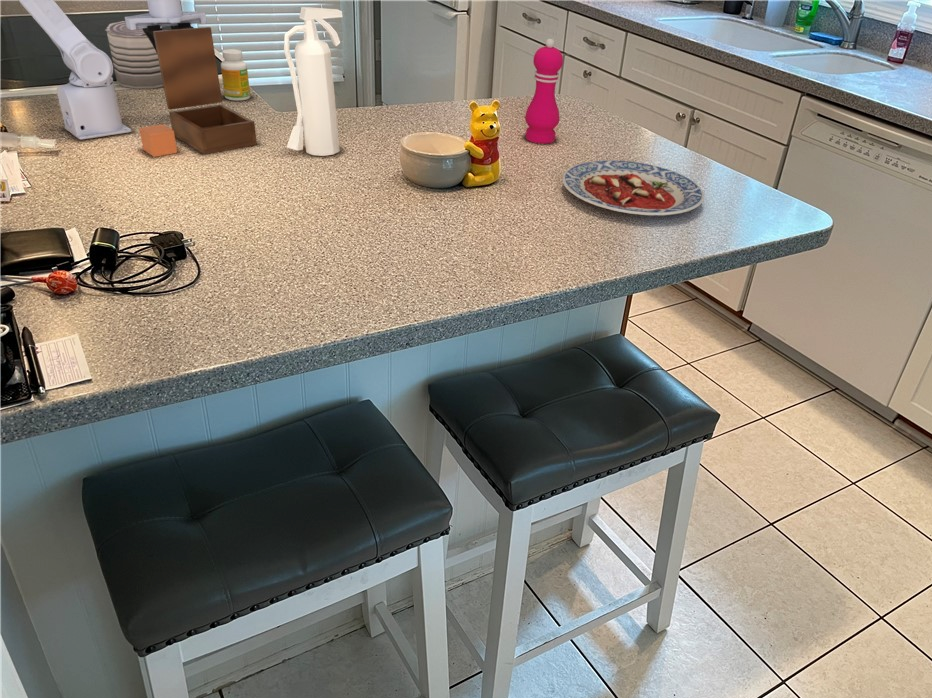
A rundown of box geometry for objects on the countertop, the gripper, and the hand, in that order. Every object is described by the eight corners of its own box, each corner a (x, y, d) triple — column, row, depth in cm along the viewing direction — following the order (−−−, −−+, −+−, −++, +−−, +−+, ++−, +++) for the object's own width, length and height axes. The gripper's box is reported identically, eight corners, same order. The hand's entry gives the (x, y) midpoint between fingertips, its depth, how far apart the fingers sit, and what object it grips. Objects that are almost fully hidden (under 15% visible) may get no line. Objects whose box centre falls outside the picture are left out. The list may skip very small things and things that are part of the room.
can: (182, 83, 176) (173, 26, 169) (138, 92, 168) (127, 33, 161) (149, 72, 181) (139, 17, 174) (105, 81, 173) (93, 23, 166)
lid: (211, 27, 144) (209, 26, 145) (154, 31, 138) (152, 31, 138) (222, 102, 151) (220, 101, 152) (169, 109, 145) (167, 108, 146)
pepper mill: (554, 146, 161) (565, 44, 150) (520, 141, 162) (529, 39, 150) (559, 136, 167) (571, 37, 155) (526, 131, 168) (535, 32, 156)
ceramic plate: (589, 228, 128) (591, 211, 126) (543, 172, 148) (544, 156, 146) (727, 223, 135) (731, 206, 133) (665, 170, 155) (668, 155, 153)
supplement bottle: (246, 102, 169) (240, 55, 163) (221, 99, 168) (215, 52, 163) (253, 95, 173) (248, 49, 167) (229, 93, 173) (223, 47, 167)
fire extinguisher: (280, 148, 147) (266, 4, 132) (340, 142, 152) (333, 3, 138) (292, 160, 142) (279, 12, 128) (353, 153, 148) (348, 10, 134)
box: (257, 144, 147) (254, 121, 145) (204, 154, 141) (200, 130, 139) (224, 126, 154) (221, 104, 152) (173, 135, 148) (169, 111, 146)
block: (153, 157, 138) (149, 134, 136) (143, 149, 140) (138, 127, 138) (177, 152, 141) (173, 130, 138) (166, 145, 143) (163, 124, 141)
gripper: (130, -6, 135) (146, 75, 143) (209, -10, 144) (220, 66, 151) (114, -13, 139) (130, 67, 147) (192, -17, 148) (203, 58, 155)
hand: (174, 66), depth 149 cm, fingers open, 3 cm apart
